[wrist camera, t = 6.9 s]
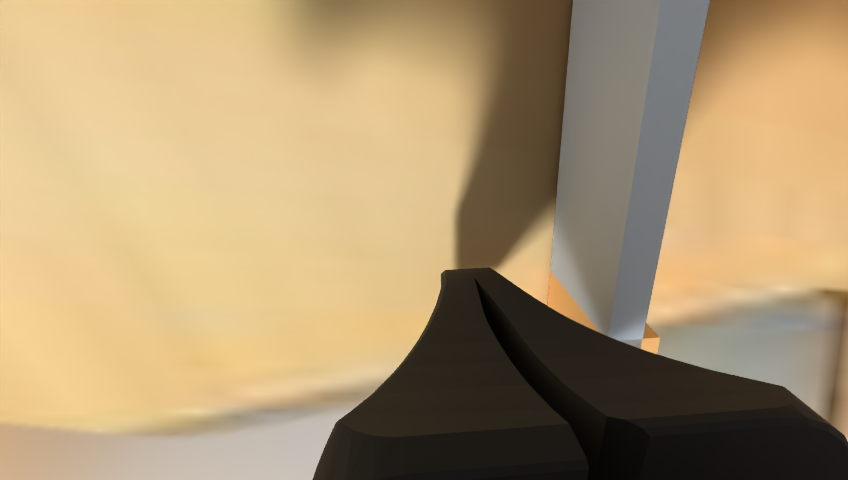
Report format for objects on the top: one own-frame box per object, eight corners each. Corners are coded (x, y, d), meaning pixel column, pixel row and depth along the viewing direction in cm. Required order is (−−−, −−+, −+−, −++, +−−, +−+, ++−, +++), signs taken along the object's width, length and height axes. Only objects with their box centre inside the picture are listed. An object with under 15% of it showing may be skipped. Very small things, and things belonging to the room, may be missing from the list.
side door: (582, 323, 13) (644, 406, 9) (545, 326, 13) (596, 410, 9) (653, -245, 8) (840, -483, 4) (593, -243, 8) (737, -483, 4)
